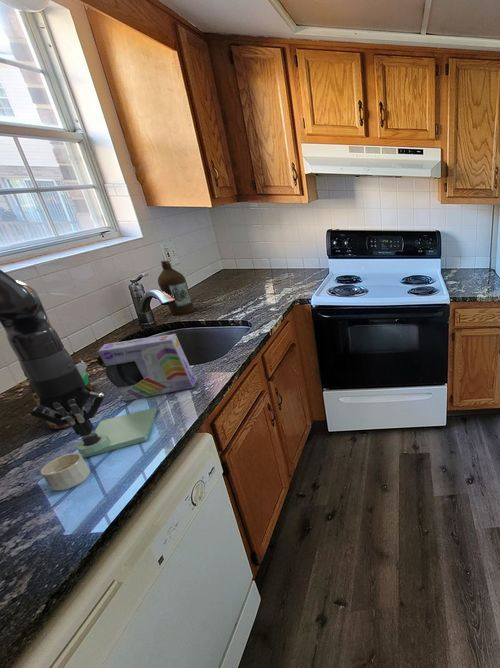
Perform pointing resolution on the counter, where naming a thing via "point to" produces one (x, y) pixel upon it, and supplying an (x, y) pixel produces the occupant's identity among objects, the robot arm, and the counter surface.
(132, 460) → the counter surface
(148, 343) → the cake pan box
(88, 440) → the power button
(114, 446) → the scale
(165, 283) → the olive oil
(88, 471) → the bowl
